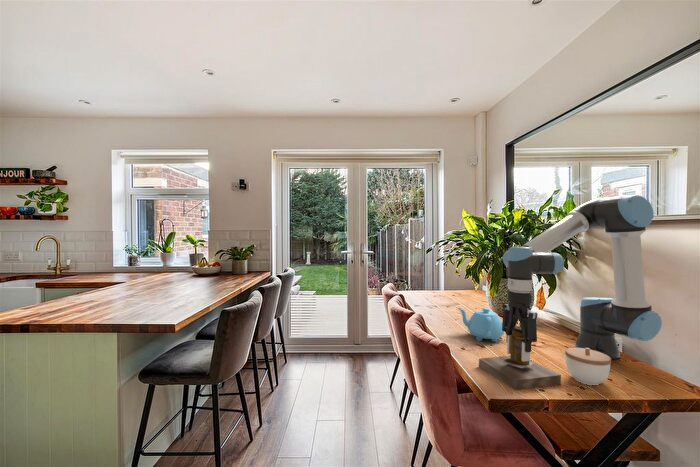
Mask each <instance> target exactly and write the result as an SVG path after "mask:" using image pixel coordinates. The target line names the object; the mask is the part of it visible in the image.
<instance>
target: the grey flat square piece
mask: <svg viewBox="0 0 700 467" xmlns="http://www.w3.org/2000/svg"><path fill="white" fill-rule="evenodd" d="M508 358H510V355H503V356H493V357H483V358H478V368H480V369H482V370H483V371H485V372H487V374H489V375H491V376H493V377H494V378H496V379H497V380H499V381H501V382H502V383H503V384H505V385H507V386H508V387H509V388H512V389H513V390H514V391H517V390H524V389H525V390H526V389H532V388H539V387H549V386H554V385H555V386H556V384H557V385H562V374H560V373H558V372H556V371H554V370H552V369H550V368H547V367H546V366H543V365H542V364H539V363H537V362H535V361H533V360H532V359H530V362H534V363H535V364H532V365H530V366H527V367H524V368H519V367H516V366H513V365H511V364H508V363H506V362H504V361H502V360H505V359H508Z"/></svg>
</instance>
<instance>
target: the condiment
mask: <svg viewBox="0 0 700 467" xmlns="http://www.w3.org/2000/svg"><path fill="white" fill-rule="evenodd" d="M527 339H528V338H527ZM522 341H524V338H523V333H522V329H521V325H520V326H517V325H516V326H514V327H513V328H512V335H511V354H509V356H510V358H508V359H505V360H502V361H504V362H506V363H508V364H511V365H513V366H516V367H519V368H524V367H527V366H530V365H532V364H535V363H536V362H535V361H533V362H530V361H522ZM534 362H535V363H534Z"/></svg>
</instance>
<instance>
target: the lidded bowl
mask: <svg viewBox="0 0 700 467" xmlns="http://www.w3.org/2000/svg"><path fill="white" fill-rule="evenodd" d="M564 355H565V357H564V358H565V366H566V369H567V371H568V372H569V374H570V375H571V376H572V377H573V379H574V381H576V382H578V383H580V382H581V383H580V384H583V385H586V384H587V386H592V385H597V386H600V385H599V384H602V383H604V382H605V381H606V380H607V379H608V377H609V376H610V372H611V363H612V359H611V358H610V357H609V356H607V355H606V354H603V353H601V352H598V351H594V350H590V349H589V348H575V347H568V348H565V350H564Z"/></svg>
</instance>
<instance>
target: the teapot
mask: <svg viewBox="0 0 700 467" xmlns="http://www.w3.org/2000/svg"><path fill="white" fill-rule="evenodd" d="M457 309H458V310H459V311H460V312H461V316H462V322H463V324H464V326H465V327H467V329H468V331H469V333H470V334H471V335H473V336H474V337H475V341H483V339H486V340H487V339H489V340H491V342H492V341H493V343H498V342H499V340H498V339H501V337H502V336H503V335H504V334H505V332H504V331H502V322H503V320H501V318H500V316H499V315H498V313H497V312H494V311H491V310H490V308H488V307H483V308H482V309H481V310H475V311H474V313H473V314H472V315H471V317H470V318H469V319H468V318H467V313H466V310H464V309H463V308H459V307H457ZM506 328H507V327H506Z"/></svg>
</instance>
